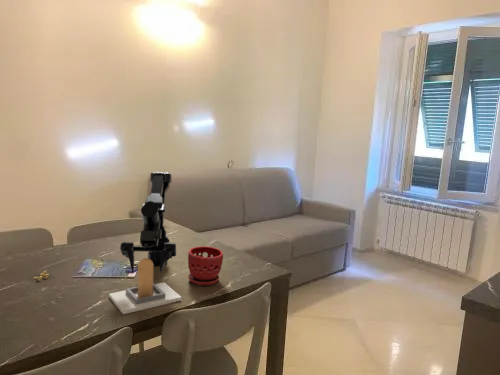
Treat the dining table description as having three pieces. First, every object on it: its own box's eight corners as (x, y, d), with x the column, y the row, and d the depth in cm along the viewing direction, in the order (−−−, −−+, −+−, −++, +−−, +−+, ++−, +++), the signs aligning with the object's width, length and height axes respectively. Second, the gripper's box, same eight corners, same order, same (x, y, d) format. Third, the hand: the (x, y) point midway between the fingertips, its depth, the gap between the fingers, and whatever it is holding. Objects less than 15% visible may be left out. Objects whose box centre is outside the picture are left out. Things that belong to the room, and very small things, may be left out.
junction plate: (164, 285, 150) (164, 278, 150) (181, 300, 139) (181, 292, 139) (109, 297, 139) (109, 289, 138) (123, 314, 128) (123, 306, 127)
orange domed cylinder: (144, 291, 142) (144, 255, 140) (155, 294, 140) (156, 258, 138) (134, 296, 138) (135, 259, 135) (146, 299, 136) (147, 262, 133)
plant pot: (194, 290, 148) (195, 258, 146) (182, 277, 159) (183, 247, 157) (227, 285, 154) (228, 254, 152) (213, 272, 165) (215, 244, 163)
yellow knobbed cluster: (45, 275, 155) (45, 270, 154) (52, 279, 152) (52, 274, 151) (31, 279, 151) (31, 274, 150) (38, 283, 148) (38, 278, 147)
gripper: (121, 219, 140) (114, 261, 131) (176, 220, 142) (173, 262, 133) (125, 234, 149) (119, 275, 140) (177, 235, 151) (174, 275, 142)
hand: (146, 272), depth 139 cm, fingers open, 9 cm apart
